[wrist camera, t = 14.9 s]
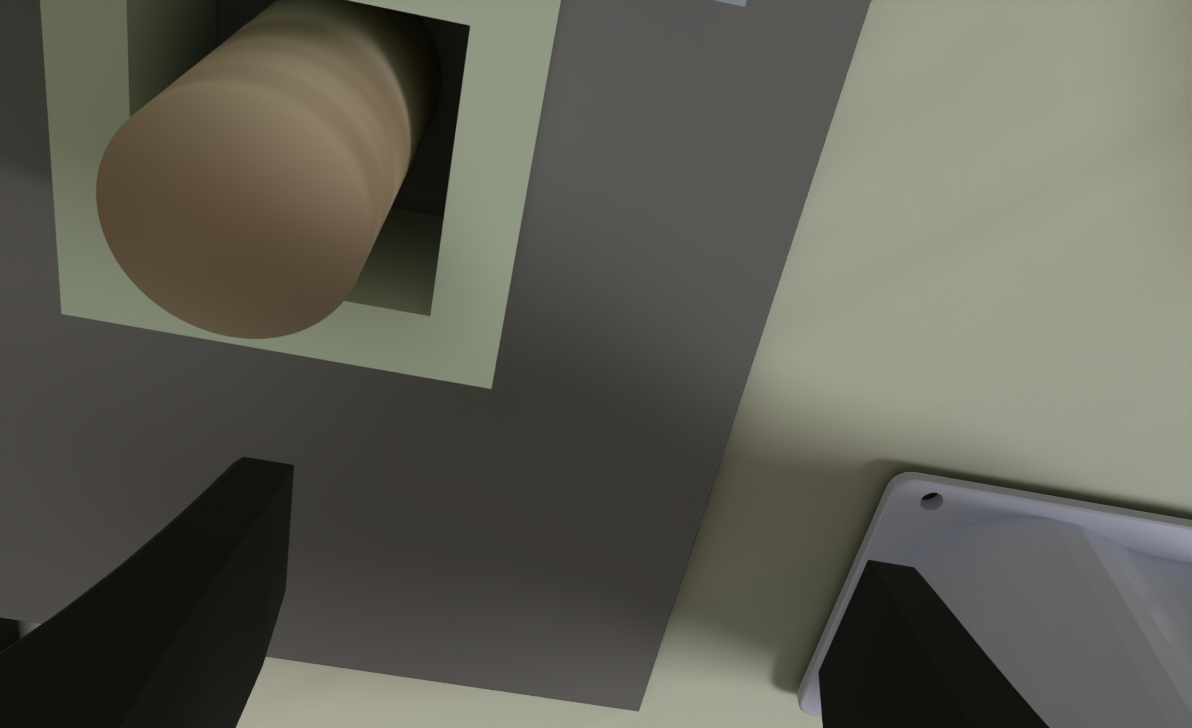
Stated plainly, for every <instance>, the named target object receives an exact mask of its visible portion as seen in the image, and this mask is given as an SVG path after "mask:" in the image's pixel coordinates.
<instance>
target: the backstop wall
mask: <svg viewBox="0 0 1192 728" xmlns="http://www.w3.org/2000/svg"><path fill="white" fill-rule="evenodd" d="M715 1H720V2H724V3H729V4H734V5H738V6H743V7H745V5H746V1H747V0H715Z"/></svg>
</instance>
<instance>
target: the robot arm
mask: <svg viewBox="0 0 1192 728" xmlns="http://www.w3.org/2000/svg"><path fill="white" fill-rule="evenodd" d="M293 476H294V465H291V464H285V463H279V462H273V461H267V460H261V459H255V458H249V457H242V458H240V459H238V460H237V461H235V462H233V463H232V464H231V465H230V466H229V467H228V468H227V469H226V470H225V471H224V472H223V473H222V474H221V475H220V476H219V477H218V478H217V479H216V480H215V481H214V482H213V483H212V484H211V485H210V486H209V487H208V488H207V489H206V490H205V491H204V492H203V493H202V494H201V495H199V496H198V497H197V498H196V499H195V500H194V501H193V502H192V503H191V504H190V505H189V506H188V507H187V508H185V509H184V510H183V511H182V512H181V513H180V514H179V515H178V516H177V517H176V518H174V519H173V520H172V521H171V522H170V523H169V524H168V525H167V526H166V527H164V528H163V529H162V530H161V531H160V532H159V533H157V534H156V535H155V536H154V537H153V538H151V539H150V540H149V541H148V542H147V543H146V544H144V545H143V546H142V547H141V548H140V549H139V550H137V551H136V552H135V553H134V554H133V555H132V556H130V557H129V558H128V559H127V560H126V561H124V562H123V563H122V564H121V565H120V566H118V567H117V568H116V569H115V570H113V571H112V572H111V573H110V574H108V575H107V576H106V577H104V578H103V579H102V580H100V581H99V582H98V583H96V584H95V585H94V586H93V587H91V588H90V589H89V590H87V591H86V592H85V593H83V594H82V595H81V596H79V597H78V598H77V599H76V600H74V601H73V602H72V603H70V604H69V605H68V606H66V607H65V608H64V609H62V610H61V611H60V612H58V613H57V614H56V615H54V616H53V617H51V618H50V619H49V620H47V621H46V622H44V623H43V624H41V625H40V626H39V627H37V628H36V629H34V630H33V631H31V632H30V633H28V634H27V635H25V636H24V637H23V638H21V639H20V640H18V641H17V642H15V643H14V644H12V645H10V646H9V647H7V648H6V649H4V650H3V651H1V652H0V728H236V726H237V723H238V721H239V719H240V716H241V714H242V712H243V710H244V707H245V705H246V703H247V700H248V698H249V696H250V694H251V691H252V689H253V687H254V685H255V682H256V680H257V678H258V675H259V673H260V671H261V668H262V666H263V663H264V660H265V657H266V653H267V650H268V647H269V644H270V641H271V638H272V634H273V631H274V628H275V625H276V621H277V618H278V615H279V611H280V608H281V605H282V601H283V598H284V595H285V591H286V580H287V566H288V551H289V536H290V521H291V506H292V491H293ZM929 493H938V494H937V495H936V496H935V497H934V498H932V499H930V500H922V498H923V497H924V496H925V495H927V494H929ZM797 698H798V703H799V706H800V708H801V710H802V711H804V712H805V713H807V714H811V715H815V716H822V722H823V728H1192V520H1189V519H1183V518H1178V517H1172V516H1166V515H1160V514H1154V513H1149V512H1143V511H1137V510H1131V509H1126V508H1120V507H1114V506H1108V505H1103V504H1097V503H1091V502H1085V501H1080V500H1074V499H1068V498H1062V497H1057V496H1051V495H1045V494H1039V493H1034V492H1028V491H1022V490H1016V489H1010V488H1005V487H999V486H993V485H987V484H982V483H976V482H970V481H964V480H959V479H953V478H947V477H941V476H936V475H930V474H924V473H918V472H904V473H901V474H898V475H897V476H895V477H894V478H892V479H891V480H890V482H889V483H888V485H887V486H886V489H885V491H884V493H883V496H882V498H881V500H880V503H879V505H878V507H877V509H876V512H875V514H874V516H873V519H872V521H871V523H870V526H869V528H868V530H867V532H866V535H865V537H864V539H863V542H862V544H861V546H860V549H859V551H858V553H857V556H856V558H855V560H854V562H853V565H852V567H851V569H850V572H849V574H848V576H847V579H846V581H845V583H844V585H843V588H842V590H841V592H840V595H839V597H838V599H837V602H836V604H835V606H834V608H833V611H832V613H831V615H830V618H829V620H828V622H827V625H826V627H825V629H824V631H823V634H822V636H821V638H820V641H819V643H818V645H817V648H816V650H815V652H814V654H813V657H812V659H811V661H810V664H809V666H808V668H807V671H806V673H805V675H804V677H803V680H802V682H801V684H800V687H799V689H798V693H797Z"/></svg>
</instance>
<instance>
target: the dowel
mask: <svg viewBox="0 0 1192 728" xmlns="http://www.w3.org/2000/svg"><path fill="white" fill-rule="evenodd" d="M441 85H442V72H441V63H440V58H439V53H438V50H437V47H436V44H435V42H434V40H433V37H432V35H431V33H430V31H429V29H428V28H427V26H426V25H425V23H424V21H423V20H422V19H421V17H420V16H419V15H417V14H412V13H407V12H402V11H398V10H393V9H388V8H383V7H378V6H373V5H369V4H364V3H359V2H354V1H349V0H276V1H274V2H273V3H272V4H271V5H269V6H268V7H267V8H266V9H264V10H263V11H262V12H261V13H259V14H258V15H257V16H256V17H255V18H253V19H252V20H251V21H250V22H248V23H247V24H246V25H245V26H243V27H242V28H241V29H240V30H238V31H237V32H236V33H235V34H233V35H232V36H231V37H230V38H228V39H227V40H226V41H225V42H223V43H222V44H221V45H220V46H218V47H217V48H216V49H215V50H213V51H212V52H211V53H210V54H208V55H207V56H206V57H205V58H203V59H202V60H201V61H200V62H198V63H197V64H196V65H195V66H193V67H192V68H191V69H190V70H188V71H187V72H186V73H185V74H183V75H182V76H181V77H180V78H178V79H177V80H176V81H175V82H173V83H172V84H171V85H170V86H168V87H167V88H166V89H165V90H164V91H162V92H161V93H160V94H159V95H157V96H156V97H155V98H154V99H152V100H151V101H150V102H149V103H147V104H146V105H145V106H144V107H142V108H141V109H140V110H139V111H137V112H136V113H135V114H134V115H133V116H131V117H130V118H129V119H128V120H127V121H126V122H125V123H124V124H122V126H121V127H120V128H119V129H118V131H117V132H116V133H115V134H114V136H113V137H112V139H111V140H110V142H109V144H108V146H107V147H106V149H105V151H104V154H103V157H102V160H101V162H100V165H99V170H98V175H97V181H96V202H97V211H98V216H99V220H100V224H101V228H102V231H103V234H104V236H105V239H106V241H107V244H108V246H109V248H110V250H111V252H112V254H113V255H114V257H115V259H116V261H117V262H118V264H119V265H120V267H121V268H122V269H123V271H124V272H125V274H126V275H127V276H128V277H129V278H130V280H131V281H132V282H133V283H134V284H135V285H136V286H137V288H138V289H139V290H141V291H142V292H143V293H144V294H145V295H146V296H147V297H148V298H149V299H150V300H152V301H153V302H154V303H156V304H157V305H158V306H160V307H161V308H162V309H164V310H165V311H167V312H168V313H170V314H172V315H173V316H175V317H177V318H178V319H180V320H182V321H184V322H186V323H188V324H190V325H193V326H195V327H197V328H200V329H203V330H206V331H209V332H211V333H215V334H220V335H224V336H228V337H235V338H243V339H267V338H277V337H282V336H286V335H290V334H294V333H297V332H299V331H302V330H305V329H307V328H309V327H311V326H313V325H315V324H317V323H319V322H321V321H322V320H323V319H325V318H326V317H327V316H329V315H330V314H331V313H333V312H334V311H335V310H336V309H337V308H338V307H339V306H340V305H341V304H342V303H343V301H344V300H345V299H346V297H347V296H348V295H349V293H350V292H351V291H352V289H353V287H354V285H355V283H356V281H357V279H358V277H359V275H360V273H361V271H362V269H363V266H364V264H365V262H366V260H367V258H368V256H369V253H370V251H371V249H372V247H373V245H374V243H375V241H376V238H377V236H378V234H379V232H380V230H381V228H382V225H383V223H384V221H385V219H386V217H387V215H388V212H389V210H390V208H391V206H392V204H393V202H394V200H395V197H396V195H397V193H398V191H399V189H400V187H401V184H402V182H403V180H404V178H405V176H406V174H407V172H408V169H409V167H410V165H411V163H412V161H413V159H414V156H415V154H416V152H417V150H418V148H419V146H420V143H421V141H422V139H423V137H424V135H425V133H426V131H427V128H428V126H429V124H430V122H431V120H432V118H433V115H434V113H435V111H436V108H437V105H438V102H439V98H440V93H441Z"/></svg>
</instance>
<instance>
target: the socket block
mask: <svg viewBox="0 0 1192 728" xmlns="http://www.w3.org/2000/svg"><path fill="white" fill-rule="evenodd" d="M349 1H354V2H359V3H364V4H369V5H373V6H378V7H383V8H388V9H393V10H398V11H402V12H407V13H412V14H417V15H422V16H427V17H431V18H436V19H441V20H446V21H451V22H455V23H460V24H465V25H470V32H469V39H468V46H467V53H466V61H465V68H464V75H463V82H462V90H461V97H460V104H459V111H458V119H457V126H456V133H455V141H454V148H453V155H452V162H451V170H450V177H449V184H448V191H447V199H446V206H445V213H444V217H441V216H436V215H430V214H425V213H420V212H415V211H409V210H404V209H399V208H393V207H391V208H390V210H389V212H388V215H387V217H386V219H385V221H384V223H383V225H382V228H381V230H380V232H379V234H378V236H377V238H376V241H375V243H374V245H373V247H372V249H371V251H370V253H369V256H368V258H367V260H366V262H365V264H364V266H363V269H362V271H361V273H360V275H359V277H358V279H357V281H356V283H355V285H354V287H353V289H352V291H351V292H350V293H349V295H348V296H347V297H346V299H345V300H344V301H343V303H342V304H341V305H340V306H339V307H338V308H337V309H336V310H335V311H334V312H333V313H331V314H330V315H329V316H327V317H326V318H325V319H323V320H322V321H321V322H319V323H317V324H315V325H313V326H311V327H309V328H307V329H305V330H302V331H299V332H297V333H294V334H290V335H286V336H282V337H277V338H267V339H243V338H235V337H228V336H224V335H220V334H215V333H211V332H209V331H206V330H203V329H200V328H197V327H195V326H193V325H190V324H188V323H186V322H184V321H182V320H180V319H178V318H177V317H175V316H173V315H172V314H170V313H168V312H167V311H165V310H164V309H162V308H161V307H160V306H158V305H157V304H156V303H154V302H153V301H152V300H150V299H149V298H148V297H147V296H146V295H145V294H144V293H143V292H142V291H141V290H139V289H138V288H137V286H136V285H135V284H134V283H133V282H132V281H131V280H130V278H129V277H128V276H127V275H126V274H125V272H124V271H123V269H122V268H121V267H120V265H119V264H118V262H117V261H116V259H115V257H114V255H113V254H112V252H111V250H110V248H109V246H108V244H107V241H106V239H105V236H104V234H103V231H102V228H101V224H100V220H99V216H98V211H97V202H96V181H97V175H98V170H99V165H100V162H101V160H102V157H103V154H104V151H105V149H106V147H107V146H108V144H109V142H110V140H111V139H112V137H113V136H114V134H115V133H116V132H117V131H118V129H119V128H120V127H121V126H122V124H124V123H125V122H126V121H127V120H128V119H129V118H130V117H131V116H133V115H134V114H135V113H136V112H137V111H139V110H140V109H141V108H142V107H144V106H145V105H146V104H147V103H149V102H150V101H151V100H152V99H154V98H155V97H156V96H157V95H159V94H160V93H161V92H162V91H164V90H165V89H166V88H167V87H168V86H170V85H171V84H172V83H173V82H175V81H176V80H177V79H178V78H180V77H181V76H182V75H183V74H185V73H186V72H187V71H188V70H190V69H191V68H192V67H193V66H195V65H196V64H197V63H198V62H200V61H201V60H202V59H203V58H205V57H206V56H207V55H208V54H210V53H211V52H212V51H213V50H215V39H216V0H40V9H41V23H42V38H43V52H44V67H45V81H46V96H47V110H48V125H49V139H50V154H51V169H52V183H53V198H54V212H55V227H56V241H57V256H58V270H59V285H60V299H61V314H65V315H70V316H76V317H82V318H87V319H93V320H99V321H105V322H110V323H116V324H122V325H128V326H133V327H139V328H145V329H151V330H156V331H162V332H168V333H173V334H179V335H185V336H191V337H196V338H202V339H208V340H214V341H219V342H225V343H231V344H236V345H242V346H248V347H254V348H259V349H265V350H271V351H277V352H282V353H288V354H294V355H300V356H305V357H311V358H317V359H322V360H328V361H334V362H340V363H345V364H351V365H357V366H363V367H368V368H374V369H380V370H386V371H391V372H397V373H403V374H408V375H414V376H420V377H426V378H431V379H437V380H443V381H449V382H454V383H460V384H466V385H471V386H477V387H483V388H489V389H491V388H492V383H493V377H494V371H495V366H496V360H497V355H498V349H499V344H500V338H501V332H502V327H503V321H504V316H505V310H506V304H507V299H508V293H509V288H510V282H511V277H512V271H513V265H514V260H515V254H516V249H517V243H518V237H519V232H520V226H521V221H522V215H523V210H524V204H525V198H526V193H527V187H528V182H529V176H530V170H531V165H532V159H533V154H534V148H535V143H536V137H537V131H538V126H539V120H540V115H541V109H542V103H543V98H544V92H545V87H546V81H547V76H548V70H549V64H550V59H551V53H552V48H553V42H554V36H555V31H556V25H557V20H558V14H559V9H560V3H561V0H349Z"/></svg>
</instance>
